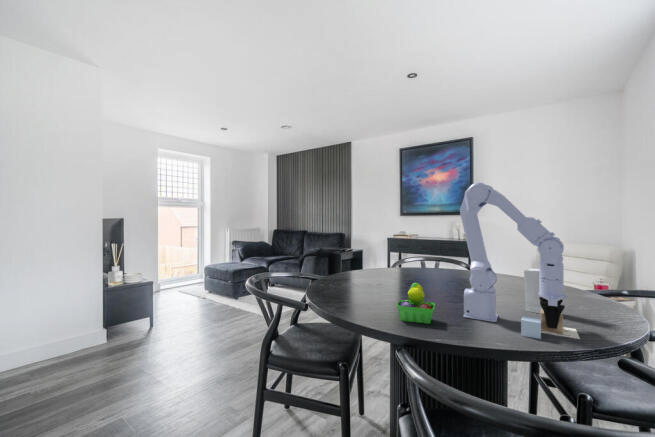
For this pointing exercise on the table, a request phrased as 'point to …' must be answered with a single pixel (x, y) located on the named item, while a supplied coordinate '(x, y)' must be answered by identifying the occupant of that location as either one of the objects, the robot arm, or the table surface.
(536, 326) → the blue cube
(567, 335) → the letter
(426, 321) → the fruit basket
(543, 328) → the oak block
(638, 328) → the table surface
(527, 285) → the skincare box
